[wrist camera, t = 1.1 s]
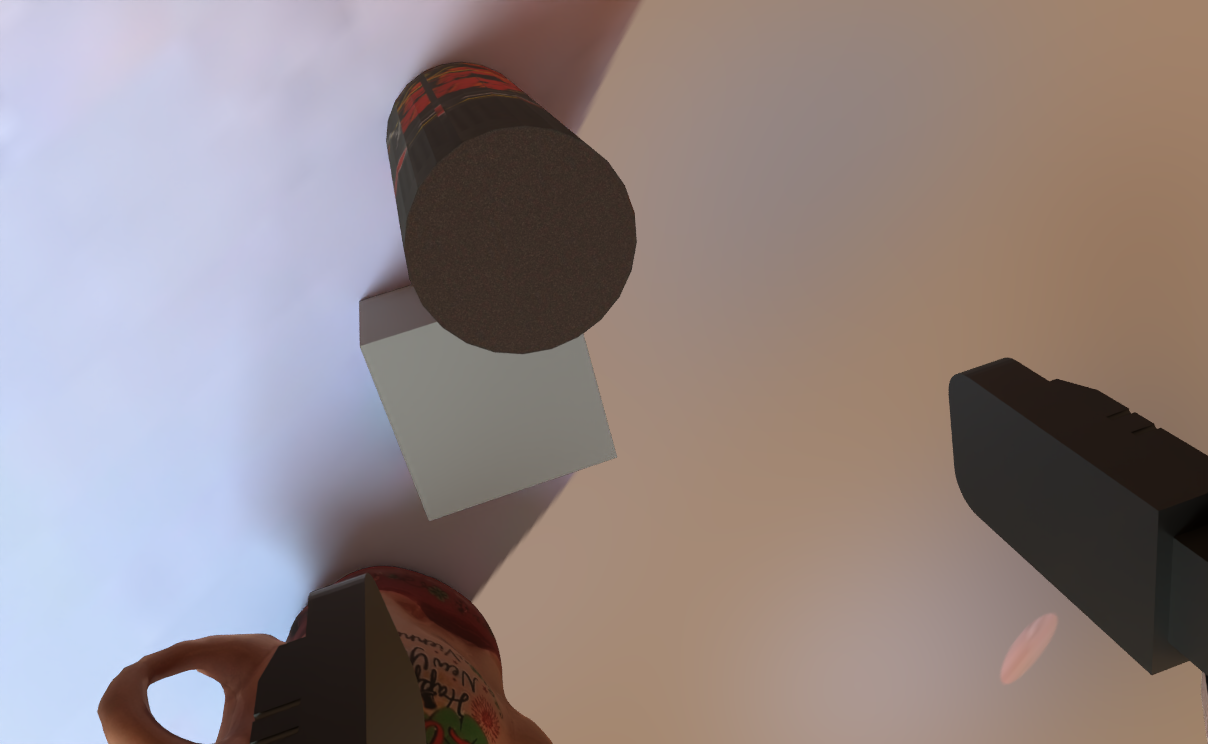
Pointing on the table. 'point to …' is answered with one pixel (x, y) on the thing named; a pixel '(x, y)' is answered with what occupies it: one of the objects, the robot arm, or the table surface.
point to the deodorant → (504, 213)
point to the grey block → (479, 407)
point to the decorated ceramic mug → (415, 602)
